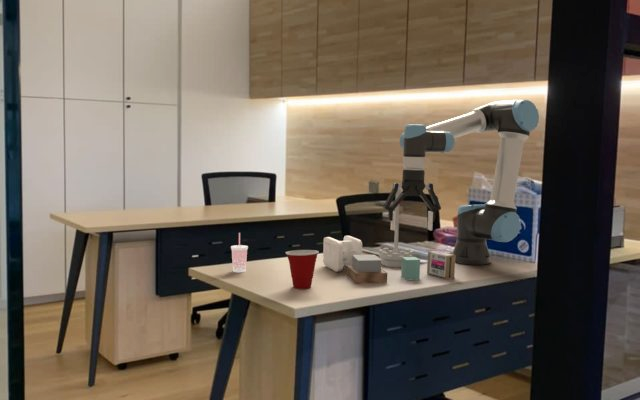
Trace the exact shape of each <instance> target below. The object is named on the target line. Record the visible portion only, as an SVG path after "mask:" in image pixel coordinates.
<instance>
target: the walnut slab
mask: <svg viewBox="0 0 640 400" xmlns="http://www.w3.org/2000/svg"><path fill="white" fill-rule="evenodd" d="M346 276H347V278H349V279H350V280H351V281H352V282H353V283H354V284H355V285H360V284H361V285H362V284H387V283H388V272H387V271H386V270H385V269H383V268H382V267H381V272H357V271H356V270H355V269H354V268H353V267H352V265H351V266H347V267H346Z"/></svg>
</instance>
